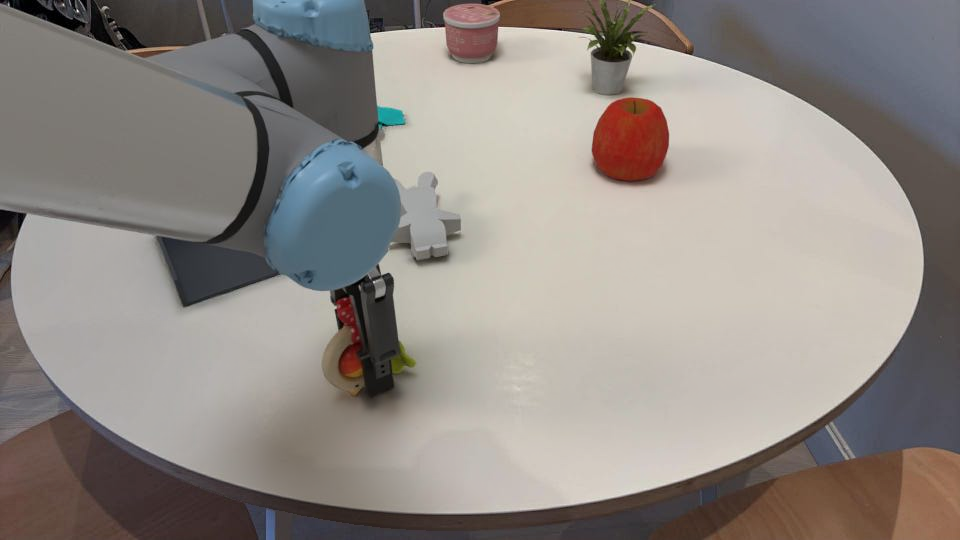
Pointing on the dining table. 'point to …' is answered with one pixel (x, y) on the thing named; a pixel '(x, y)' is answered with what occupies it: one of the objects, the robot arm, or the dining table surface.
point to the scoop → (210, 268)
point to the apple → (631, 139)
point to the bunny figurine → (424, 219)
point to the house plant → (611, 49)
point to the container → (471, 32)
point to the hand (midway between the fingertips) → (367, 369)
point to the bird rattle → (352, 354)
